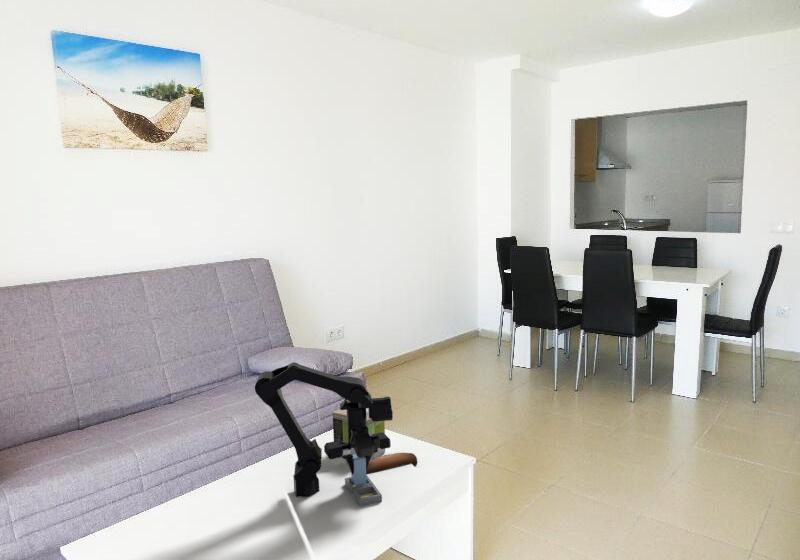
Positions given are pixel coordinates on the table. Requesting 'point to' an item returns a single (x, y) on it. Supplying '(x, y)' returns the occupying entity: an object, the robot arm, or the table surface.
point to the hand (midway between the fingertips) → (358, 472)
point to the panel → (364, 492)
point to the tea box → (341, 429)
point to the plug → (359, 470)
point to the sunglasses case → (390, 461)
